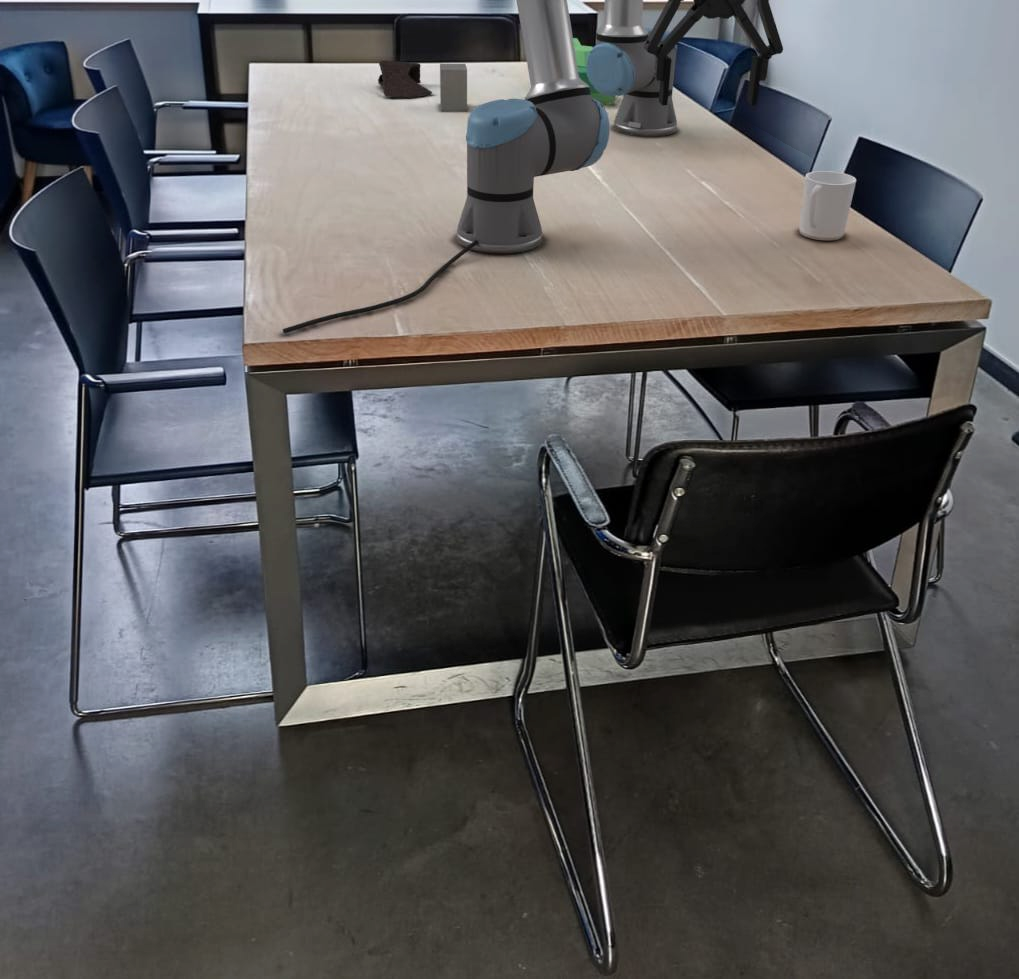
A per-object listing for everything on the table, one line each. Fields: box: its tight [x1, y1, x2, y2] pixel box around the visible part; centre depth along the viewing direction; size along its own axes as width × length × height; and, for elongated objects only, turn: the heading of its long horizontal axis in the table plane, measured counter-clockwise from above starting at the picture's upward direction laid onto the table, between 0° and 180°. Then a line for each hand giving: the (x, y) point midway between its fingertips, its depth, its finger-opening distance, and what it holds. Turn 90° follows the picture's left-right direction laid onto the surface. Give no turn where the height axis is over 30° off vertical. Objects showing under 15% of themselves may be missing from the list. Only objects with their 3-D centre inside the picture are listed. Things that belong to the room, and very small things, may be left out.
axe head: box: [377, 59, 433, 99], centre depth 299 cm, size 18×8×15 cm
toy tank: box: [573, 37, 616, 105], centre depth 300 cm, size 18×12×35 cm
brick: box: [439, 63, 468, 112], centre depth 282 cm, size 8×7×10 cm
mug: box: [798, 170, 857, 241], centre depth 199 cm, size 11×9×10 cm
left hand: (707, 103), depth 164 cm, fingers open, 13 cm apart
